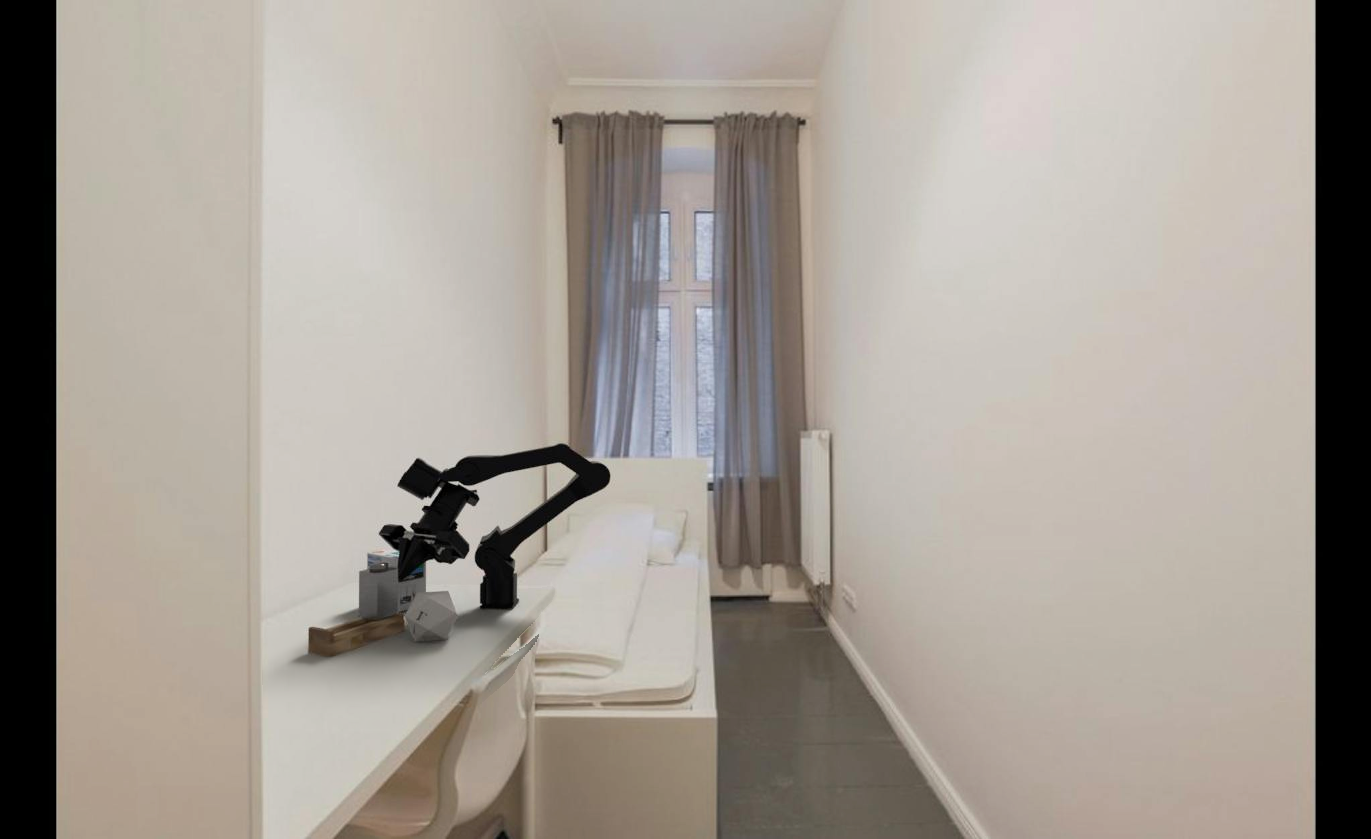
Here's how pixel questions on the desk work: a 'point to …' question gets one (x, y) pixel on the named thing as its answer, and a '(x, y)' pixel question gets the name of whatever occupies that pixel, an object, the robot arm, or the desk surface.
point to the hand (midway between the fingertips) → (398, 579)
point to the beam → (352, 634)
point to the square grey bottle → (378, 592)
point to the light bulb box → (406, 586)
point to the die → (431, 616)
